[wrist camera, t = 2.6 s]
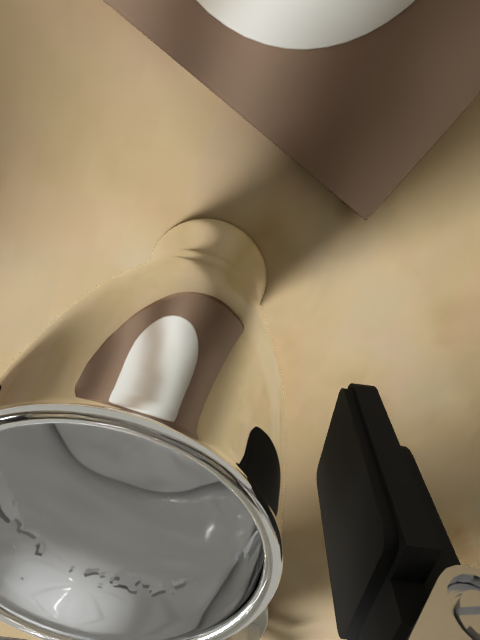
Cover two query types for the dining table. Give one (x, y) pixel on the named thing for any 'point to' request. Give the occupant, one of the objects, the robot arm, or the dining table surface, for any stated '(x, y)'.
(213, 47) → the walnut board
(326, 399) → the dining table surface
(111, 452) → the silver metal tumbler
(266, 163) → the dining table surface
